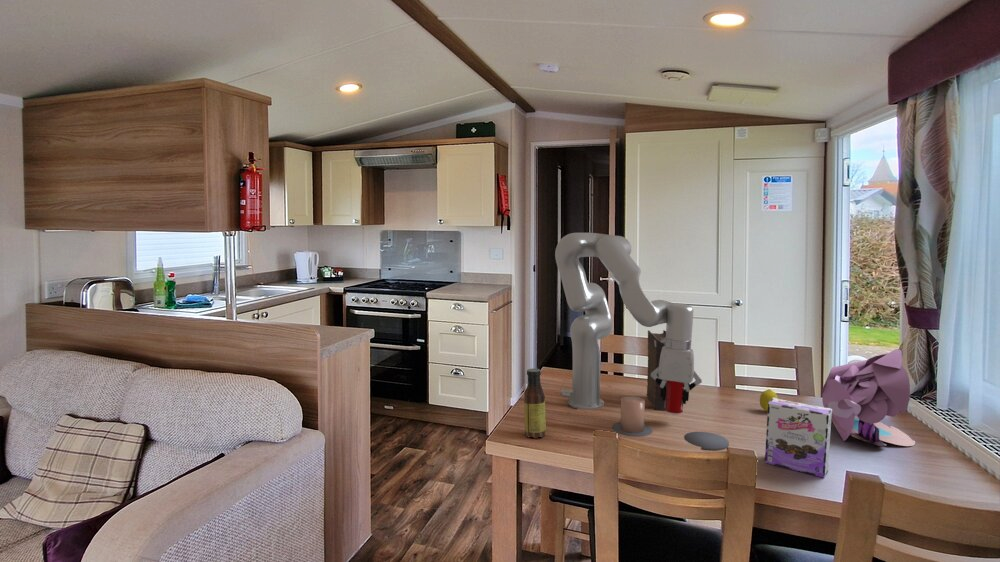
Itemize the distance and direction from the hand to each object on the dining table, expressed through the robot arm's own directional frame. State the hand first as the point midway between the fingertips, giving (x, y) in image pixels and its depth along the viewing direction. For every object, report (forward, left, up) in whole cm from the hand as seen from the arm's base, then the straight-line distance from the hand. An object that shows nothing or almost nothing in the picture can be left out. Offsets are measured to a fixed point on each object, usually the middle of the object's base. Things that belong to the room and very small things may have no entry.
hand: (674, 400), depth 164 cm
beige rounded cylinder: (-11, -9, -7) cm, 16 cm away
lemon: (+28, +25, -8) cm, 38 cm away
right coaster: (+10, -9, -8) cm, 16 cm away
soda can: (0, 0, -4) cm, 4 cm away
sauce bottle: (-37, -24, -8) cm, 45 cm away
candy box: (+32, -17, -8) cm, 37 cm away
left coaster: (-11, -9, -8) cm, 16 cm away
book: (-7, +19, -8) cm, 22 cm away
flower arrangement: (+55, +16, -8) cm, 58 cm away
